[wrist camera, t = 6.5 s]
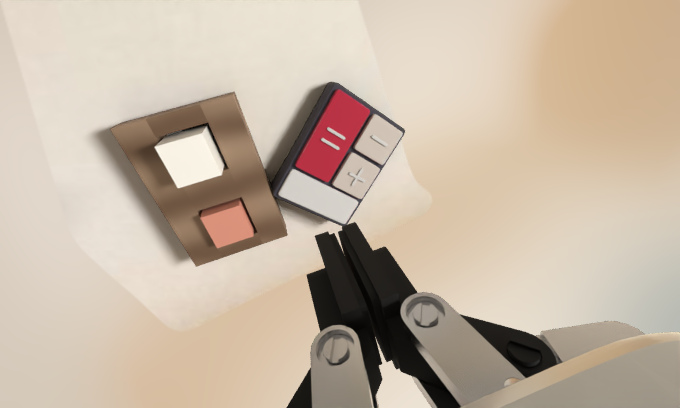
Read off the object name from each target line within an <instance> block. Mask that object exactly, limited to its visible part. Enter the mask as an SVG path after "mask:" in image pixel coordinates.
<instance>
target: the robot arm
mask: <svg viewBox="0 0 680 408" xmlns="http://www.w3.org/2000/svg"><path fill="white" fill-rule="evenodd" d="M338 234H339V237H340V241H341V245H342V248H343V251H342V249H341V247H340V245H339V242H338V240H337V238H336V236H335V234H334V233H333V234H330V235H329V233H328V232H325V233H322V234H319V235H316V236H315V238H316V241H317V244H318V247H319V250H320V253H321V256H322V259H323V262H324V265H325V268H324V269H321V270H319V271H316V272H313V273H310V274H307V279H308V283H309V287H310V291H311V295H312V300H313V304H314V308H315V312H316V316H317V320H318V324H319V328H320V333H319V334H318V335H317V336H316V338H315V339H314V341H313V343H312V346H311V368H310V370H309V371H308V373H307V375H306V376H305V378H304V380H303V381H302V383H301V385H300V387H299V388H298V390H297V391H296V393H295V395H294V396H293V398H292V400H291V401H290V403H289V405H288V406H287V408H379V405H378V401H377V397H376V394H377V391H378V389H379V386H380V384H381V381H382V376H381V372H380V369H379V365H381V364H382V362H381V358H380V354H379V350H378V346H377V342H378V344H379V346H380V349H381V351H382V353H383V355H384V358H385V360H386V361H387V362H388V361H391V360H392V361H393V364H394V366H395V368H396V369H400V371H401V372H403V373H406V374H408V375H411V376H412V377H413V380H414V382H415V383H416V385H417V386H418V388H419V389H420V391H421V392H422V394H423V395H424V397H425V398H426V400H427V401H428V403H429V404H430V405H431V407H432V408H680V332H667V333H652V334H646V335H645V334H644V333H643V332H641V331H640V330H639V329H636V328H634V327H632V326H630V325H628V324H625V323H620V322H617V321H604V322H598V323H591V324H585V325H579V326H572V327H566V328H559V329H552V330H546V331H541V335H536V336H534V335H532V334H529V333H526V332H523V331H520V330H516V329H512V328H508V327H505V326H501V325H497V324H494V323H490V322H486V321H483V320H479V319H474V318H471V317H468V316H463V315H460V314H459V313H457V312H456V311H455V310H454V309H453V308H452V307H451V306H450V305H449V304H448V303H447V302H446V301H445V300H444V299H442V298H441V297H439V296H438V295H435V294H433V293H426V292H422V293H417V291H416V290H415V288H414V287H413V285H412V284H411V282H410V281H409V280H408V278H407V277H406V275H405V274H404V272H403V271H402V269H401V268H400V267H399V265H398V264H397V262H396V261H395V259H394V258H393V256H392V255H391V254H390V252H389V251H388V249H387V248H386V247H382V248H379V249H377V250H374V251H373V250H372V249H371V248H370V245H369V244H368V242H367V240H366V239H365V237H364V235H363V234H362V232H361V231H360V229H359V227H358V226H357V224H356V223H355V222H354V223H351V224H348V225H345V226H342V231H339V232H338ZM343 252H344V253H343ZM344 255H345V256H344ZM375 337H376V338H375ZM376 339H377V342H376Z"/></svg>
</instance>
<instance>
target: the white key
mask: <svg viewBox="0 0 680 408" xmlns="http://www.w3.org/2000/svg"><path fill="white" fill-rule="evenodd" d="M155 149H156V151H157V153H158V154H159V156H160V158H161V160H162V161H163V163H164V165H165V167H166V168H167V170H168V172H169V174H170V175H171V177H172V179H173V181H174V182H175V184H176V186H177V188H181V187H184V186H188V185H191V184H194V183H198V182H201V181H204V180H207V179H211V178H214V177H217V176H220V175H222V172H223V168H224V164H225V162H224V160H223V157H222V155H221V153H220V151H219V149H218V146H217V144H216V142H215V140H214V138H213V135H212V133H211V131H210V129H209V127H208V125H204V126H201V127H197V128H194V129H190V130H187V131H183V132H180V133H176V134H172V135H169V136H165V137H164V138H163V139H162V140H161V141H160V142H159V143H158V144H157V145H156V146H155Z"/></svg>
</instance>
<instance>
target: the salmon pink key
mask: <svg viewBox="0 0 680 408" xmlns="http://www.w3.org/2000/svg"><path fill="white" fill-rule="evenodd" d="M200 219H201V220H202V222H203V224H204V226H205V228H206V229H207V231H208V233H209V235H210V237H211V238H212V240H213V242H214V244H215V246H216V247H217V248H220V247H223V246H226V245H229V244H232V243H235V242H238V241H241V240H244V239H247V238H250V237H253V236H254V233H253V221H252V219H251V217H250V214H249V212H248V210H247V208H246V206H245V203H244V201H243V199H242V197H240V198H237V199H234V200H231V201H228V202H225V203H221V204H218V205H215V206H212V207H209V208H206V209H203V211H202V214H201V217H200Z"/></svg>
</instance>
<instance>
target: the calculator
mask: <svg viewBox="0 0 680 408" xmlns="http://www.w3.org/2000/svg"><path fill="white" fill-rule="evenodd" d="M404 133H405V130H404V129H403V128H402V127H400V126H399V125H398V124H396V123H395V122H393V121H392V120H390V119H389V118H387V117H386V116H385V115H383V114H382V113H380V112H379V111H377V110H376V109H375V108H373V107H372V106H370V105H369V104H367V103H366V102H365V101H363V100H362V99H360V98H359V97H357V96H356V95H355V94H353V93H352V92H350V91H349V90H347V89H346V88H344V87H343V86H342V85H340V84H339V83H335V82H329V83H328V84H327V86H326V87H325V89H324V91H323V93H322V95H321V96H320V98H319V100H318V102H317V104H316V105H315V107H314V109H313V111H312V112H311V114H310V116H309V118H308V120H307V121H306V123H305V125H304V127H303V129H302V131H301V132H300V134H299V136H298V138H297V140H296V142H295V143H294V145H293V147H292V149H291V151H290V153H289V154H288V156H287V158H286V159H285V160H284V162H283V164H282V166H281V167H280V169H279V171H278V173H277V175H276V176H275V178H274V180H273V182H272V184H271V187H272V191H273V195H274V196H275V197H276V198H279V199H281V200H283V201H285V202H288V203H290V204H292V205H295V206H297V207H299V208H302V209H304V210H306V211H308V212H311V213H313V214H315V215H318V216H320V217H322V218H324V219H327V220H329V221H331V222H334V223H336V224H338V225H341V226H345V225H347V223H348V222H349V220H350V219H351V217H352V216H353V214H354V212H355V211H356V209H357V208H358V206H359V205H360V203H361V201H362V200H363V198H364V197H365V195H366V194H367V192H368V190H369V189H370V187H371V186H372V184H373V182H374V181H375V179H376V178H377V176H378V175H379V173H380V171H381V170H382V168H383V167H384V165H385V164H386V162H387V160H388V159H389V157H390V156H391V154H392V153H393V151H394V149H395V148H396V146H397V145H398V143H399V141H400V140H401V138H402V137H403V135H404Z"/></svg>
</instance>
